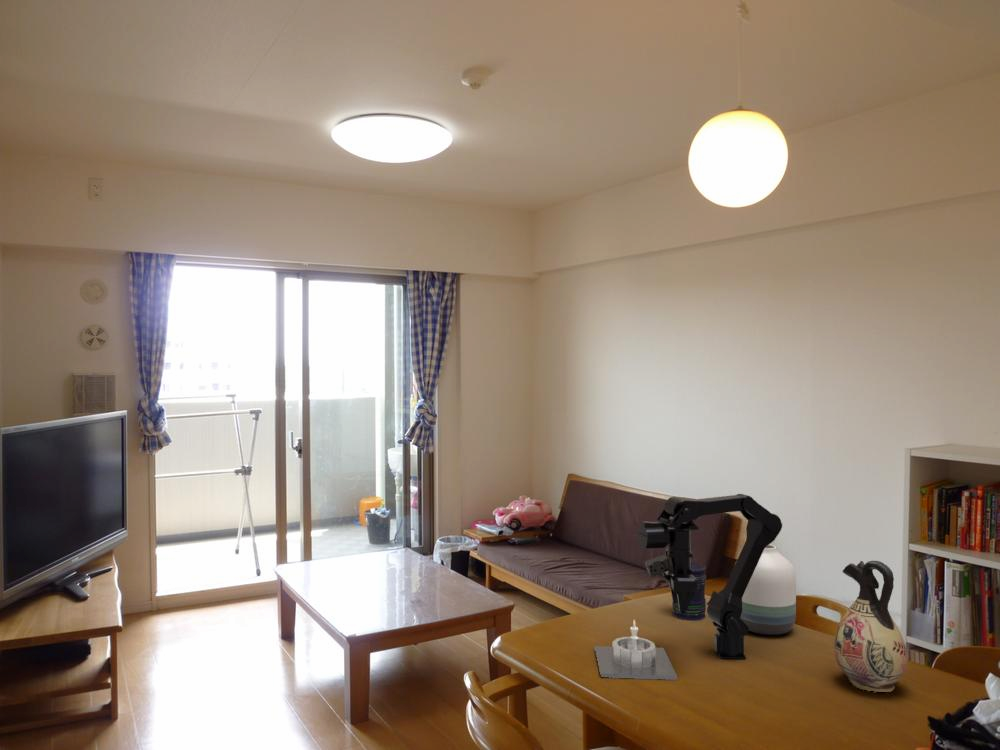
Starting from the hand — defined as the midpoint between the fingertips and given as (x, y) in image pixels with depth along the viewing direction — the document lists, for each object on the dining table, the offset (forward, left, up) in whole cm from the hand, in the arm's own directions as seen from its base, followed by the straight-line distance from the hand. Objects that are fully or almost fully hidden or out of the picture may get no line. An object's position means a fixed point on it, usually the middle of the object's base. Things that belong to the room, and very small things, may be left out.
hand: (678, 608), depth 183 cm
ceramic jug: (-42, +14, -13) cm, 46 cm away
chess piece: (+12, +4, -12) cm, 17 cm away
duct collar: (+12, +4, -13) cm, 18 cm away
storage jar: (-10, -35, -13) cm, 39 cm away
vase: (-29, -24, -13) cm, 40 cm away
